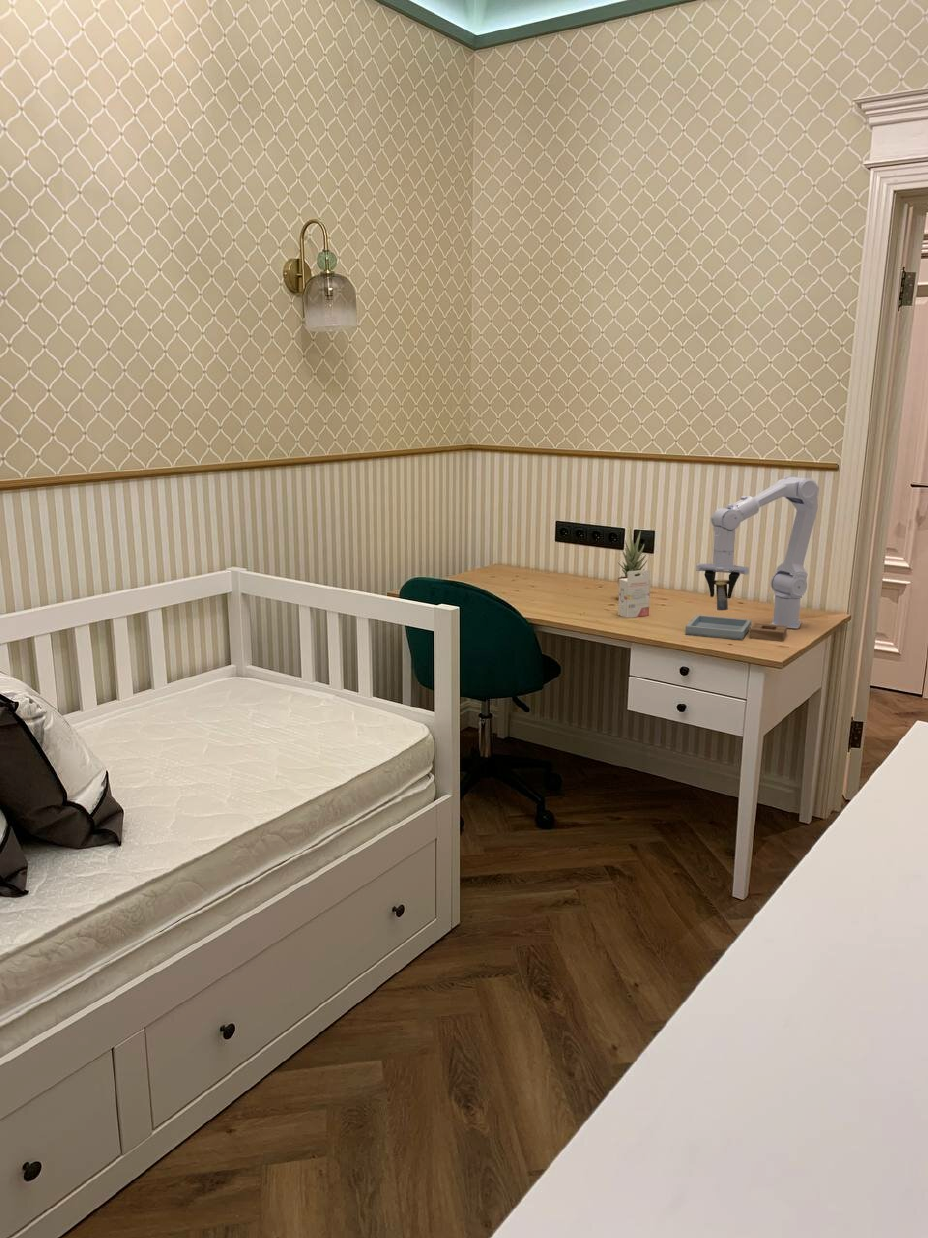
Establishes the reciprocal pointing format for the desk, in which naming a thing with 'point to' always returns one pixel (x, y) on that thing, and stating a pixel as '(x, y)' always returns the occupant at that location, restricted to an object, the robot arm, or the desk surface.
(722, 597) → the lock pin
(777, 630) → the brown square socket base
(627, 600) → the ink cartridge box
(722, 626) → the tray
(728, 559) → the robot arm
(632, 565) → the potted plant
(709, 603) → the desk surface
